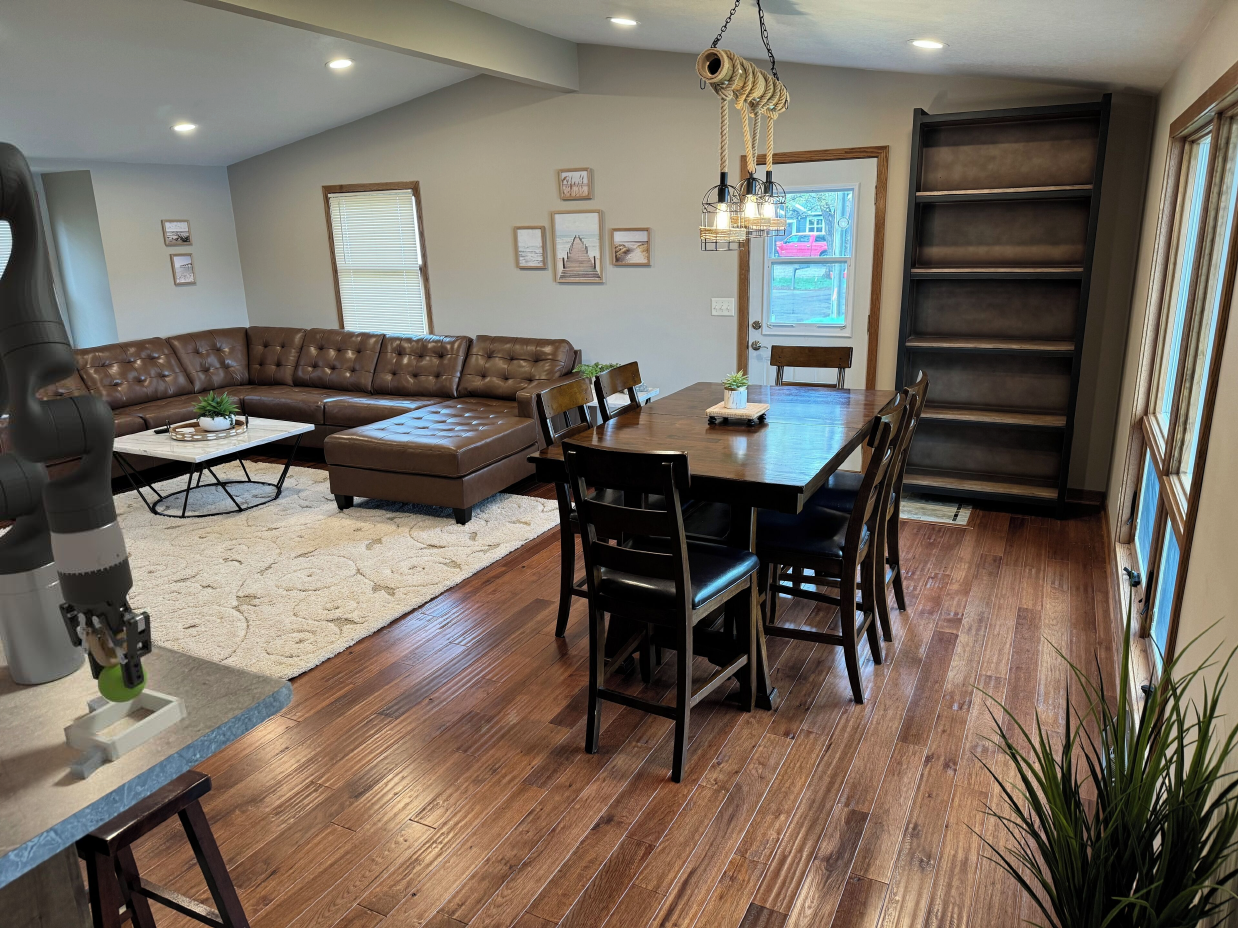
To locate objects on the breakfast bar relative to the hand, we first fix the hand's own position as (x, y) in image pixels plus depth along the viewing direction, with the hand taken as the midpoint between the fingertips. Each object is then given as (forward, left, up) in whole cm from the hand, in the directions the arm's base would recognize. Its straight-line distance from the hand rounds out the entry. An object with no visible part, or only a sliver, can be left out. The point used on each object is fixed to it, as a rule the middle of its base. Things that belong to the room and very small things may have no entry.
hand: (118, 680), depth 109 cm
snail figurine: (0, 0, -3) cm, 3 cm away
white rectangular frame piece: (-2, -2, -7) cm, 8 cm away
